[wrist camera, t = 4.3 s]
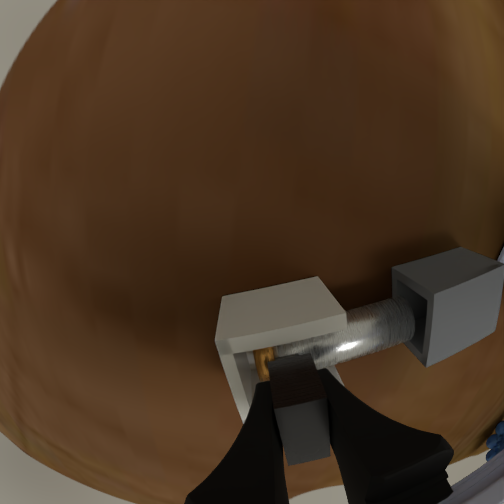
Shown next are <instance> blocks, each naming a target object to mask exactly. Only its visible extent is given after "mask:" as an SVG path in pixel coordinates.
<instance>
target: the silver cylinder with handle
mask: <svg viewBox="0 0 504 504" xmlns="http://www.w3.org/2000/svg"><path fill="white" fill-rule="evenodd" d="M345 312H346V317H347V329H343V330H339V331H336V332H332V333H328V334H324V335H320V336H316V337H312V338H308V339H304V340H299V341H295V342H291V343H286V344H281V345H277V346H272V347H267V348H262V349H257V350H253V355H254V360H255V365H256V369H257V373H258V376H259V380H260V382H264V381H270V386H271V393H272V400H273V407H274V412H275V416H276V420H277V424H278V428H279V432H280V436H281V439H282V443H283V447H284V451H285V455H286V458H287V462H288V466H289V465H294V464H299V463H304V462H308V461H313V460H317V459H321V458H325V457H329V456H330V434H329V414H328V398H327V395H326V392H325V390H324V387H323V384H322V382H321V379H320V376H319V374H318V371H317V369H319V368H323V367H327V366H331V365H335V364H338V363H342V362H345V361H349V360H352V359H355V358H359V357H362V356H365V355H368V354H371V353H374V352H377V351H380V350H383V349H386V348H389V347H392V346H395V345H397V344H400V343H403V342H405V341H408V340H410V339H412V337H413V335H414V332H415V320H414V315H413V311H412V308H411V306H410V304H409V302H408V301H407V300H406V299H405V298H404V297H403V296H400V295H399V296H395V297H392V298H389V299H386V300H382V301H379V302H376V303H372V304H369V305H365V306H362V307H358V308H355V309H351V310H347V311H345Z"/></svg>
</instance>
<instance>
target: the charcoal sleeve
mask: <svg viewBox="0 0 504 504" xmlns="http://www.w3.org/2000/svg"><path fill="white" fill-rule="evenodd" d="M503 281H504V264H503V263H501V262H498V261H496V260H493V259H491V258H488V257H486V256H483V255H481V254H478V253H476V252H473V251H470V250H468V249H465V248H462V247H459V248H455V249H452V250H449V251H446V252H442V253H439V254H436V255H432V256H429V257H426V258H422V259H419V260H415V261H412V262H408V263H405V264H401V265H397V266H394V267H392V297H395V296H399V295H400V296H403V297H404V298H405V299H406V300H407V301H408V302H409V304H410V306H411V308H412V311H413V315H414V320H415V332H414V335H413V337H412V339H410V340H408V341H405V342H403V343H404V344H405V345H406V346H407V347H408V348H409V350H410V351H411V352H412V353H413V354H414V355H415V356H416V357H417V358H418V359H419V361H420V362H421V363H422V364H423V365H424V366H425V367H428V366H431V365H433V364H435V363H437V362H439V361H441V360H443V359H445V358H447V357H449V356H451V355H453V354H455V353H457V352H459V351H461V350H463V349H465V348H467V347H468V346H470V345H472V344H474V343H476V342H477V341H479V340H481V339H482V338H484V337H486V336H487V335H489V334H491V333H492V332H494V331H495V329H496V324H497V319H498V314H499V308H500V303H501V296H502V289H503Z"/></svg>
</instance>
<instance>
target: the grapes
mask: <svg viewBox="0 0 504 504" xmlns="http://www.w3.org/2000/svg"><path fill="white" fill-rule="evenodd" d="M495 431H496V434H493V435H491V436H490V437H489V438H488V439H487V442H486V446H487V447H488V448H490V449H491V450H490V451H489V452H488V453H487V454H486V460H487V462H488V461H489V460H490V459H492V458H493V457H494V456H496V455H497V454H498V453H499V452H501V451H502V450H503V449H504V421H501V422H500V423H499V424H498V425H497V426H496V429H495Z"/></svg>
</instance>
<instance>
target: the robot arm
mask: <svg viewBox="0 0 504 504" xmlns="http://www.w3.org/2000/svg"><path fill="white" fill-rule="evenodd" d="M497 261H498V262H501V263H503V264H504V247H503V249H502V251H501V253H500V256H499V258H498V260H497ZM317 371H318V374H319V376H320V379H321V382H322V384H323V387H324V390H325V392H326V395H327V398H328V414H329V434H330V444H331V446H332V449H333V451H334V454H335V456H336V459H337V462H338V465H339V469H340V472H341V476H342V480H343V483H344V487H345V491H346V495H347V499H348V503H349V504H502V503H504V449H503V450H502V451H501V452H499V453H498V454H497V455H496V456H494V457H493V458H492V459H490V460H489V461H488V462H486V463H485V464H484V465H482V466H481V467H480V468H478V469H477V470H475V471H474V472H472V473H471V474H470V475H468V476H466V477H465V478H463V479H462V480H461V481H459V482H457V483H456V484H454V485H453V486H450V484H449V483H448V481H447V478H448V474H447V472H446V471H445V469H446V468H447V466H448V464H449V463H450V461H451V459H452V457H453V455H454V450H453V449H452V447H451V446H450V445H449V443H448V442H447V441H446V440H445V439H444V438H443V437H442V436H441V435H439V434H434V433H429V432H425V431H421V430H417V429H414V428H411V427H408V426H406V425H404V424H401V423H399V422H396V421H394V420H392V419H390V418H388V417H386V416H384V415H382V414H381V413H379V412H377V411H375V410H374V409H372V408H371V407H369V406H368V405H366V404H365V403H364V402H362V401H361V400H360V399H358V398H357V397H356V396H354V395H353V394H352V393H351V392H350V391H349V390H348V389H346V388H345V387H344V386H343V385H342V384H341V383H340V382H339V381H338V380H337V379H336V378H335V377H334V376H333V375H332V374H331V372H330V371H329V370H328V369H326V368H323V369H319V370H317ZM184 504H289V499H288V493H287V487H286V481H285V475H284V463H283V443H282V439H281V436H280V432H279V428H278V424H277V420H276V416H275V412H274V407H273V400H272V393H271V386H270V381H265V382H259V383H257V384H256V387H255V393H254V397H253V400H252V404H251V407H250V409H249V412H248V415H247V417H246V420H245V422H244V424H243V426H242V428H241V431H240V433H239V434H238V436H237V438H236V440H235V442H234V443H233V445H232V447H231V448H230V450H229V451H228V453H227V454H226V455H225V457H224V458H223V460H222V461H221V462H220V463H219V465H218V466H217V467H216V468H215V469H214V470H213V471H212V473H211V474H210V475H209V476H208V477H207V478H206V479H205V480H204V481H203V482H202V483H201V484H200V485H198V486H197V487H196V488H195V489H194V490H193V491H192V492H190V493H189V494H188V495H187V498H186V500H185V503H184Z"/></svg>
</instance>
